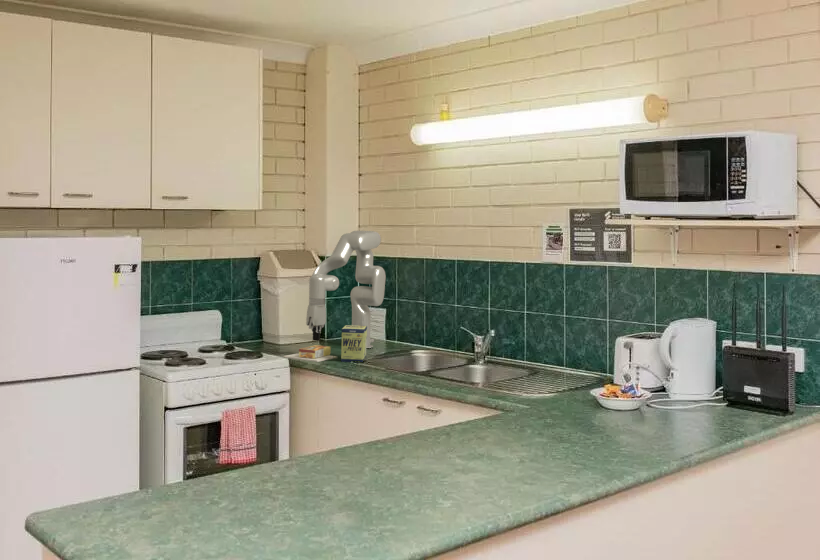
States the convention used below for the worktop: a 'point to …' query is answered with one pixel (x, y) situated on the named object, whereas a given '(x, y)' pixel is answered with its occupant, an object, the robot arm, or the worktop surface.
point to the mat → (296, 356)
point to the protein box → (353, 343)
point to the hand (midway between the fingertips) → (316, 340)
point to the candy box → (314, 351)
